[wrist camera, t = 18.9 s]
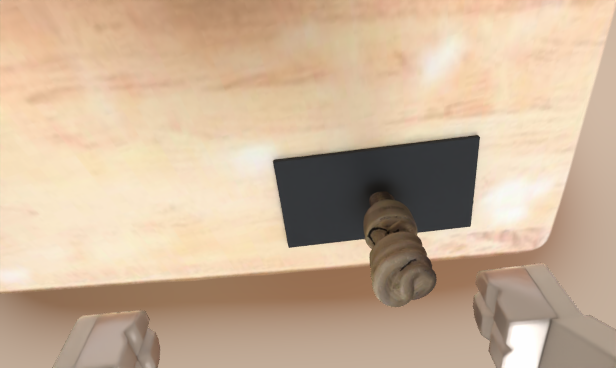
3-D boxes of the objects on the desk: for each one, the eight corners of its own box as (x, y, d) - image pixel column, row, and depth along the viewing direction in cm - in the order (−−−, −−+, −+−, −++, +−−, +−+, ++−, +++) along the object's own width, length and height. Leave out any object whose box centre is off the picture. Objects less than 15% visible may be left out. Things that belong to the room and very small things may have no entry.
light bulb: (354, 218, 52) (377, 320, 39) (350, 179, 49) (373, 275, 36) (403, 211, 51) (441, 312, 39) (401, 171, 48) (442, 265, 36)
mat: (288, 245, 54) (288, 247, 54) (273, 160, 48) (273, 162, 47) (469, 224, 53) (470, 226, 53) (478, 135, 47) (480, 137, 47)
